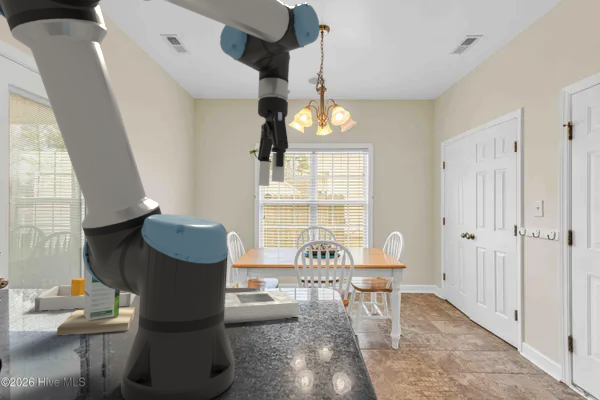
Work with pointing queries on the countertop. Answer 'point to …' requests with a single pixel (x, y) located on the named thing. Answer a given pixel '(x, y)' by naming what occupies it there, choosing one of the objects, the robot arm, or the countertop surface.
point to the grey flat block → (259, 306)
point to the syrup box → (99, 299)
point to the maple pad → (96, 323)
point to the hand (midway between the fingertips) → (270, 183)
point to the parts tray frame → (70, 299)
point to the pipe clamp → (78, 286)
